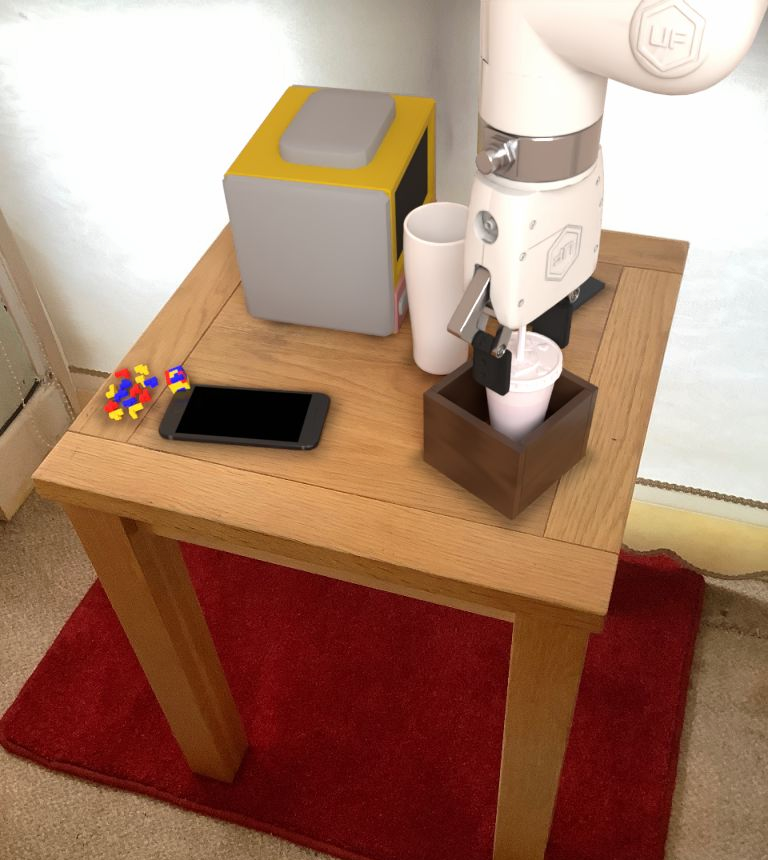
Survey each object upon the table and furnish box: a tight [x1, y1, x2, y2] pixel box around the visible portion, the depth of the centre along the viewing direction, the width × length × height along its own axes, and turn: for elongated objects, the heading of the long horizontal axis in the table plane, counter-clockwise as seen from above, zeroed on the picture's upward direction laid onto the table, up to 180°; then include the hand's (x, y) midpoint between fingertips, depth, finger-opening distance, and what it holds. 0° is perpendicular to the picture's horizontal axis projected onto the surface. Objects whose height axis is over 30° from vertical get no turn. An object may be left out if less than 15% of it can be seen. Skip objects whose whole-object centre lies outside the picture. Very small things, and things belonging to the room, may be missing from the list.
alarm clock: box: [221, 84, 438, 338], centre depth 86 cm, size 20×16×18 cm
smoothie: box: [486, 325, 564, 444], centre depth 69 cm, size 6×6×14 cm
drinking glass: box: [403, 201, 470, 376], centre depth 79 cm, size 7×7×15 cm
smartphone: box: [157, 383, 332, 452], centre depth 80 cm, size 7×15×1 cm, turn 82°
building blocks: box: [103, 364, 191, 421], centre depth 83 cm, size 6×8×2 cm
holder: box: [422, 356, 599, 521], centre depth 73 cm, size 10×10×8 cm
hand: (521, 361), depth 67 cm, fingers closed on smoothie, 6 cm apart
